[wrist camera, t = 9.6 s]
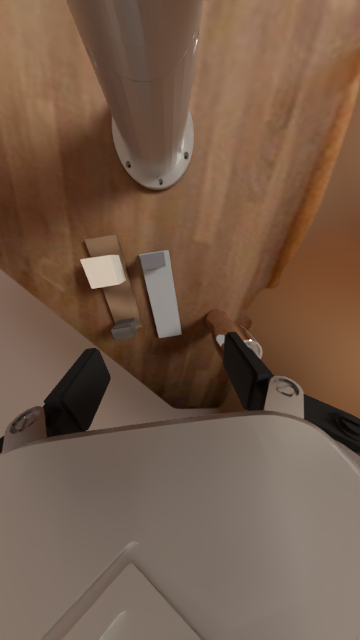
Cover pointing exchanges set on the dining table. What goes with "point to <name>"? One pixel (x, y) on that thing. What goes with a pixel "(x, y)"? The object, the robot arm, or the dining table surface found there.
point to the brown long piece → (117, 289)
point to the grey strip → (161, 292)
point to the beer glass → (222, 325)
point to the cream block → (103, 271)
